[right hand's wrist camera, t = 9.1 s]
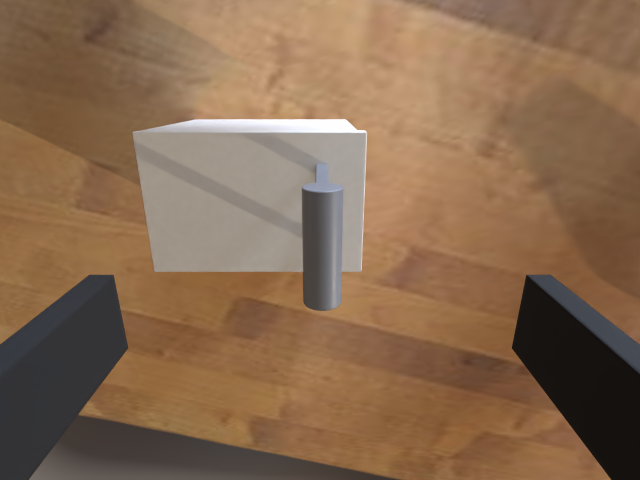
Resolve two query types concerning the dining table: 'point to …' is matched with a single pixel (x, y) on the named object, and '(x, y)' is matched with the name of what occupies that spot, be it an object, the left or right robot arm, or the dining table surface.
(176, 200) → the cabinet door with handle
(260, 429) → the dining table surface
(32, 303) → the dining table surface
